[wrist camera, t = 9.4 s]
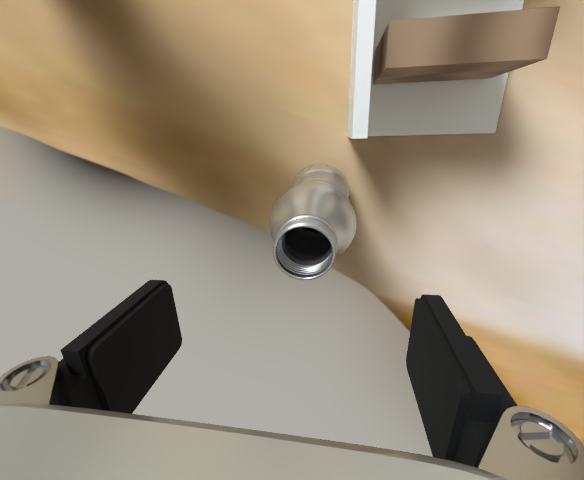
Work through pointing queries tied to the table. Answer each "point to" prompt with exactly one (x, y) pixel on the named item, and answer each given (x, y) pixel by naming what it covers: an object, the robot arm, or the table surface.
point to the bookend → (463, 45)
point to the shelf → (418, 95)
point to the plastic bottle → (312, 223)
